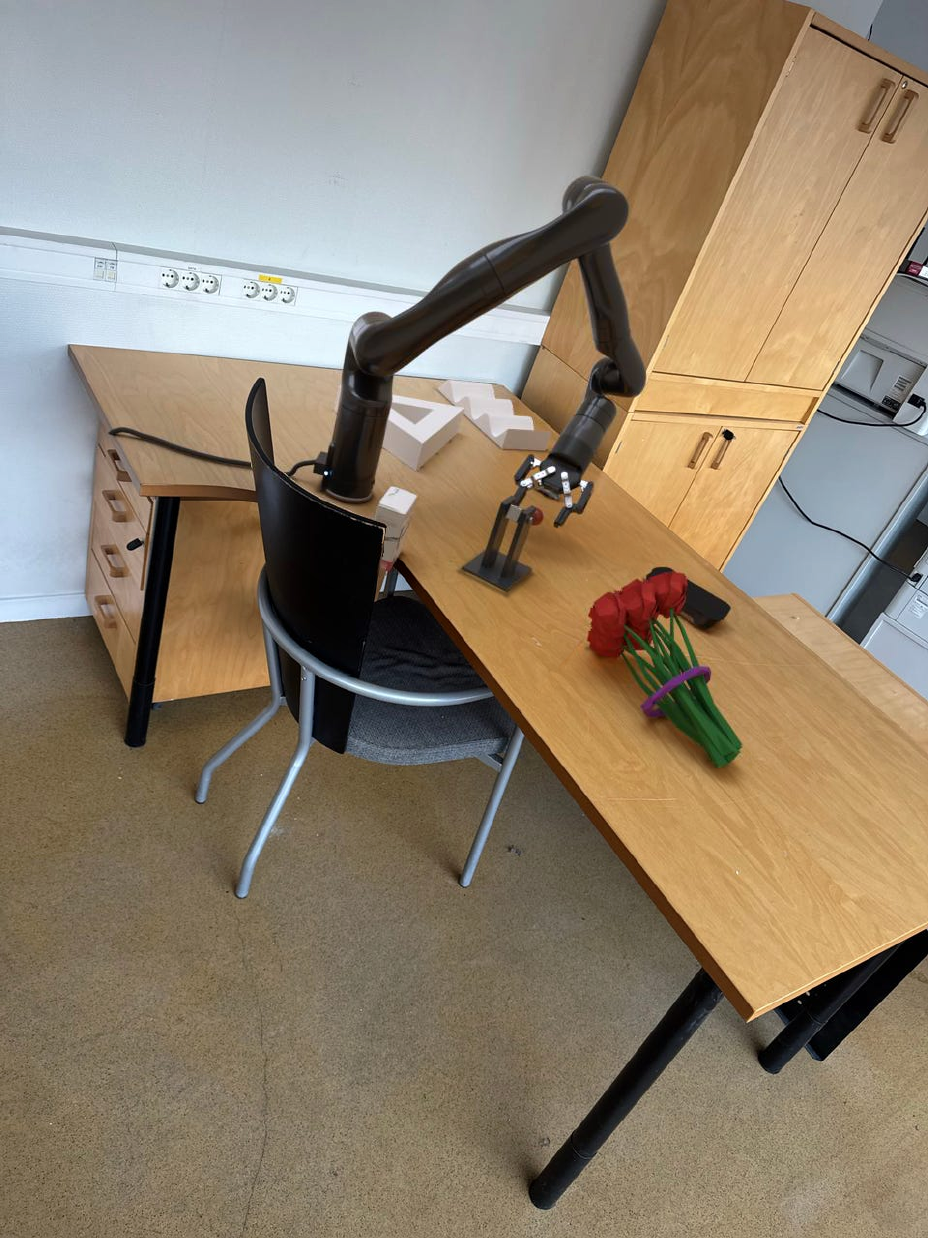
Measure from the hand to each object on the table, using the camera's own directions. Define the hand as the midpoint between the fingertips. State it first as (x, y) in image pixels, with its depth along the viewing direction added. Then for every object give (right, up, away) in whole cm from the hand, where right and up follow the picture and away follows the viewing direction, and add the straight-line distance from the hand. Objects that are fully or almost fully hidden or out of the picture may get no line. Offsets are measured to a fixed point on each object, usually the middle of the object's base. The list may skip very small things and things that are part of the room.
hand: (534, 516), depth 155 cm
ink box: (-27, -9, -12) cm, 31 cm away
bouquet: (+16, -32, -26) cm, 45 cm away
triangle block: (-24, +23, +38) cm, 51 cm away
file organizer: (-7, +32, +62) cm, 70 cm away
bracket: (-7, -11, -5) cm, 14 cm away
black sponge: (+28, -17, +3) cm, 32 cm away
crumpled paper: (+4, +9, +31) cm, 33 cm away
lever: (-3, -2, -5) cm, 6 cm away
